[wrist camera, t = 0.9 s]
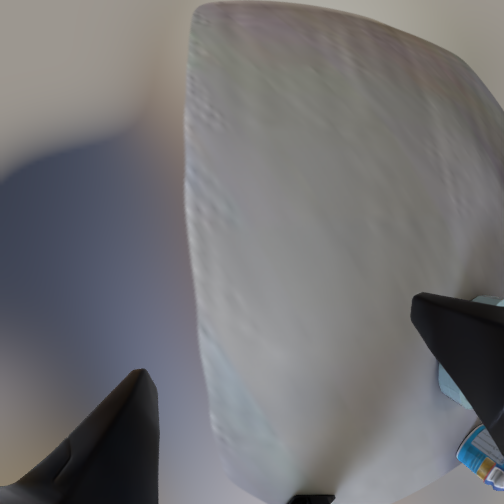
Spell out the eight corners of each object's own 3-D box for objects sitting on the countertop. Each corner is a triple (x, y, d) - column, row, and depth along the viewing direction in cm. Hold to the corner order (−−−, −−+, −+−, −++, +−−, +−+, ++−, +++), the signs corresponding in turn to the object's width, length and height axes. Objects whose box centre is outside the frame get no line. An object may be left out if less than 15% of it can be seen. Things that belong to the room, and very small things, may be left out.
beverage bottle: (481, 416, 27) (549, 457, 7) (487, 430, 27) (545, 467, 7) (450, 452, 26) (513, 504, 6) (459, 462, 27) (512, 507, 7)
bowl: (471, 396, 26) (491, 407, 21) (418, 393, 25) (441, 409, 20) (505, 308, 27) (528, 312, 22) (461, 281, 25) (490, 285, 20)
